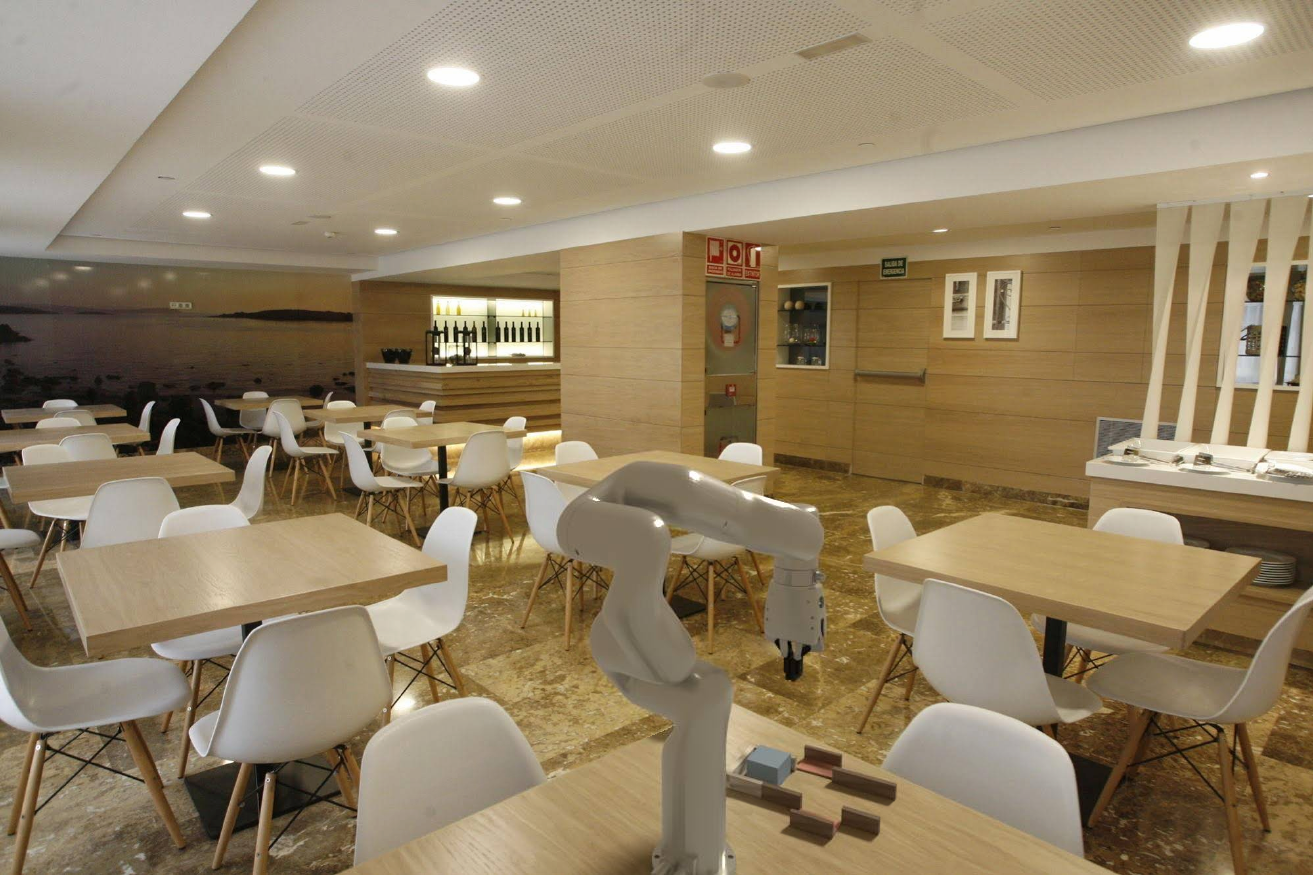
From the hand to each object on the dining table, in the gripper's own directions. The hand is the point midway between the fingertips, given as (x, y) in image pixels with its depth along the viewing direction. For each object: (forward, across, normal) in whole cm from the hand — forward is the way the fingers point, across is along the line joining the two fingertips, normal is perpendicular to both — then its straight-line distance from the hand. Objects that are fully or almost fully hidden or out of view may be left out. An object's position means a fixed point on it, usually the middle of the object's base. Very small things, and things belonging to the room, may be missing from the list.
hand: (792, 678), depth 132 cm
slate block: (+20, +5, -1) cm, 21 cm away
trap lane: (+20, -4, 0) cm, 20 cm away
